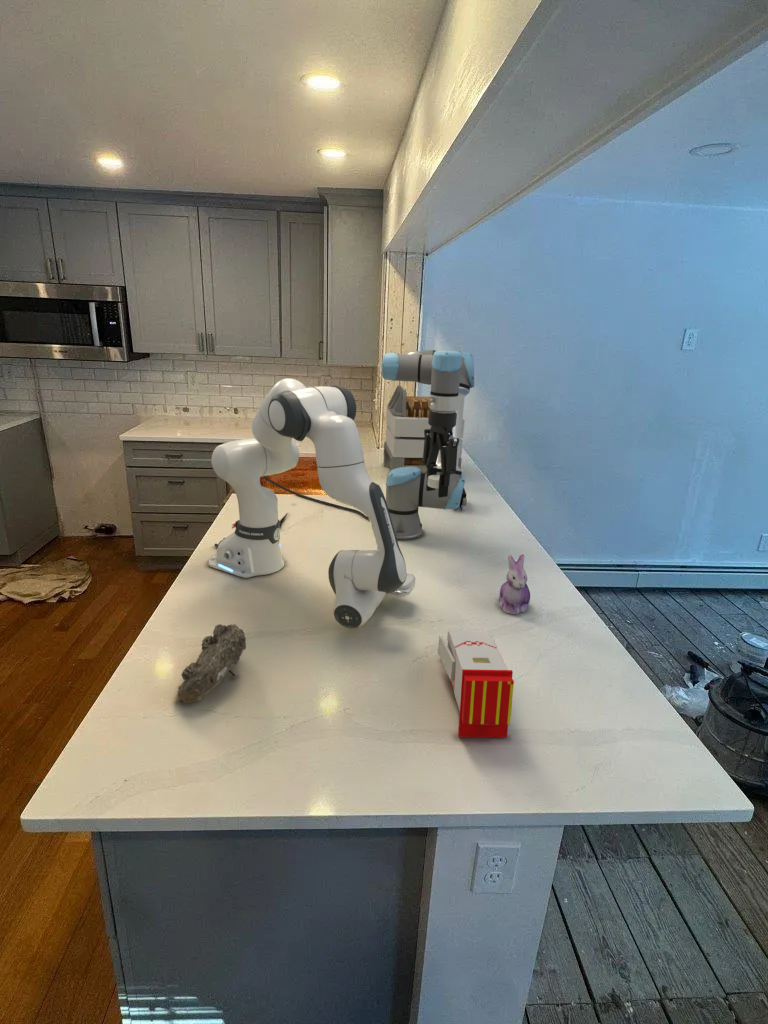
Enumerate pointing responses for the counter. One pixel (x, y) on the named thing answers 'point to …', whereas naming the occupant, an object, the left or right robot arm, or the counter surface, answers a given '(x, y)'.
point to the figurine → (515, 588)
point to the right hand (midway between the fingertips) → (436, 493)
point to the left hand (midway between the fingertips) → (385, 567)
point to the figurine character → (463, 500)
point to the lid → (433, 481)
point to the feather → (282, 520)
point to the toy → (478, 682)
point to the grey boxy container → (407, 430)
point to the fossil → (212, 662)
